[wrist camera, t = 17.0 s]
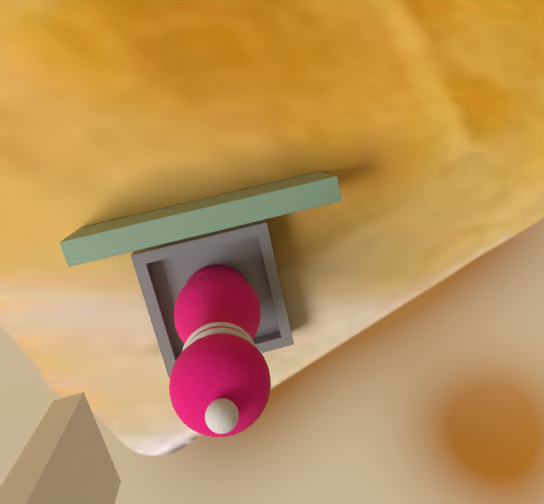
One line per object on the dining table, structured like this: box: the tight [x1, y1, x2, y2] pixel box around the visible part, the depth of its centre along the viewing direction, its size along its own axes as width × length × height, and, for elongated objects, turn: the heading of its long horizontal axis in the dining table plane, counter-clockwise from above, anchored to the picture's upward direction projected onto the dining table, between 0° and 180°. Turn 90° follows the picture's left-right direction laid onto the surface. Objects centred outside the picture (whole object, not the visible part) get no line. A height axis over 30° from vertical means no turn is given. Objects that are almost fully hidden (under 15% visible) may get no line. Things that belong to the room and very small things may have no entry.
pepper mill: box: [169, 265, 271, 437], centre depth 33 cm, size 7×7×20 cm
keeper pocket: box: [131, 220, 294, 378], centre depth 42 cm, size 12×12×2 cm
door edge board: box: [60, 172, 341, 267], centre depth 39 cm, size 22×2×6 cm, turn 102°
